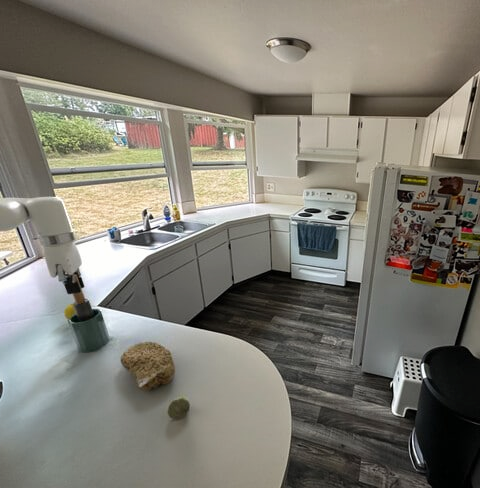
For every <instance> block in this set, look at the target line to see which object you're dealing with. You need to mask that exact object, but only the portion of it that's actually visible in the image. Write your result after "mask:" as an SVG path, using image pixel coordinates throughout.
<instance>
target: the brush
mask: <svg viewBox="0 0 480 488" xmlns="http://www.w3.org/2000/svg"><path fill="white" fill-rule="evenodd" d="M74 276H75V279H76V281H78V283H79V280H78V277H77V275H76V274H74ZM66 277H70V276H66ZM70 278H71V277H70ZM79 286H80V283H79ZM80 289H81V292H80V293H74V294H72V297H73V300H74V302H73V303H72V304H73V307H74V309H75V312H76V315H77V317H78V320H81V321H82V320H87V319H89V318H91V317H93V316H94V313H93V310H92V309H93V307H92V305H91V302H90V299H89V298H86V297H85V295H84V292H83V288H81V286H80Z"/></svg>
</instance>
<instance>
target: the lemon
mask: <svg viewBox="0 0 480 488" xmlns="http://www.w3.org/2000/svg"><path fill="white" fill-rule="evenodd" d="M63 313H64V317H65V319H66V320H68V319H69V318H70V317H71V316H73V315H74V314H76V312H75V309H74V307H73V303H70V304H68V305H67V306H66V307H65V308H64V312H63Z"/></svg>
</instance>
